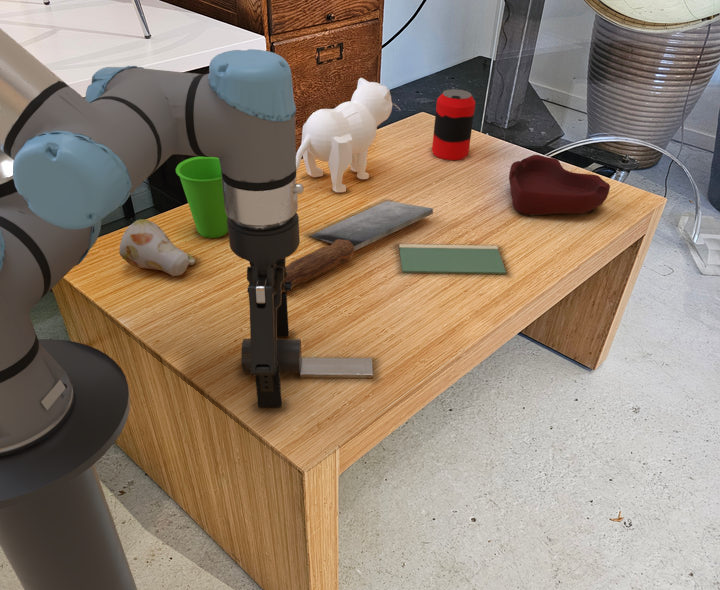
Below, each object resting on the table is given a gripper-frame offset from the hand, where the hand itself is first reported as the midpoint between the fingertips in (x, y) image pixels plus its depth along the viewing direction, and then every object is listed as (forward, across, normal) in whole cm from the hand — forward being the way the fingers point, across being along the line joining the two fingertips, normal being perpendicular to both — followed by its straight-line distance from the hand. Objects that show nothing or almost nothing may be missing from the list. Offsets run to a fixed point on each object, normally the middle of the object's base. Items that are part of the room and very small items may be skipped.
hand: (274, 368), depth 83 cm
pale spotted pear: (0, +23, +19) cm, 30 cm away
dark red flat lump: (+1, +47, -45) cm, 65 cm away
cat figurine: (0, +55, -8) cm, 56 cm away
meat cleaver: (0, +31, -8) cm, 32 cm away
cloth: (0, +27, -26) cm, 37 cm away
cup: (0, +35, +13) cm, 37 cm away
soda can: (0, +69, -31) cm, 76 cm away
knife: (0, 0, -4) cm, 4 cm away
